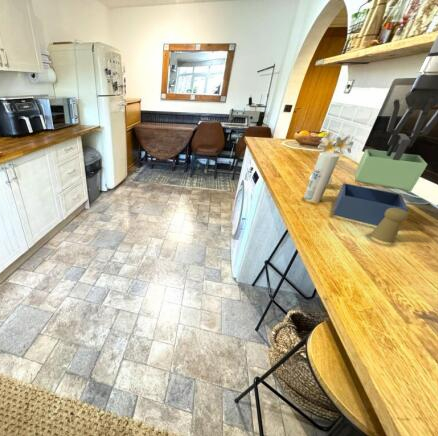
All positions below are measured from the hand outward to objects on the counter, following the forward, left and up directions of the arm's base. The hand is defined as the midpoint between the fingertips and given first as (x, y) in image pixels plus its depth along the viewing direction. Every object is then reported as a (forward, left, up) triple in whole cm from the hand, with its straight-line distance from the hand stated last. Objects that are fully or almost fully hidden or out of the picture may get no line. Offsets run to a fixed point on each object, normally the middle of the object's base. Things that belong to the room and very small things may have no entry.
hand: (393, 155), depth 80 cm
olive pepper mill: (-5, +16, -23) cm, 29 cm away
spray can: (+17, -4, -23) cm, 29 cm away
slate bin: (0, 0, -23) cm, 23 cm away
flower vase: (+16, -24, -23) cm, 37 cm away
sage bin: (0, 0, -9) cm, 9 cm away
